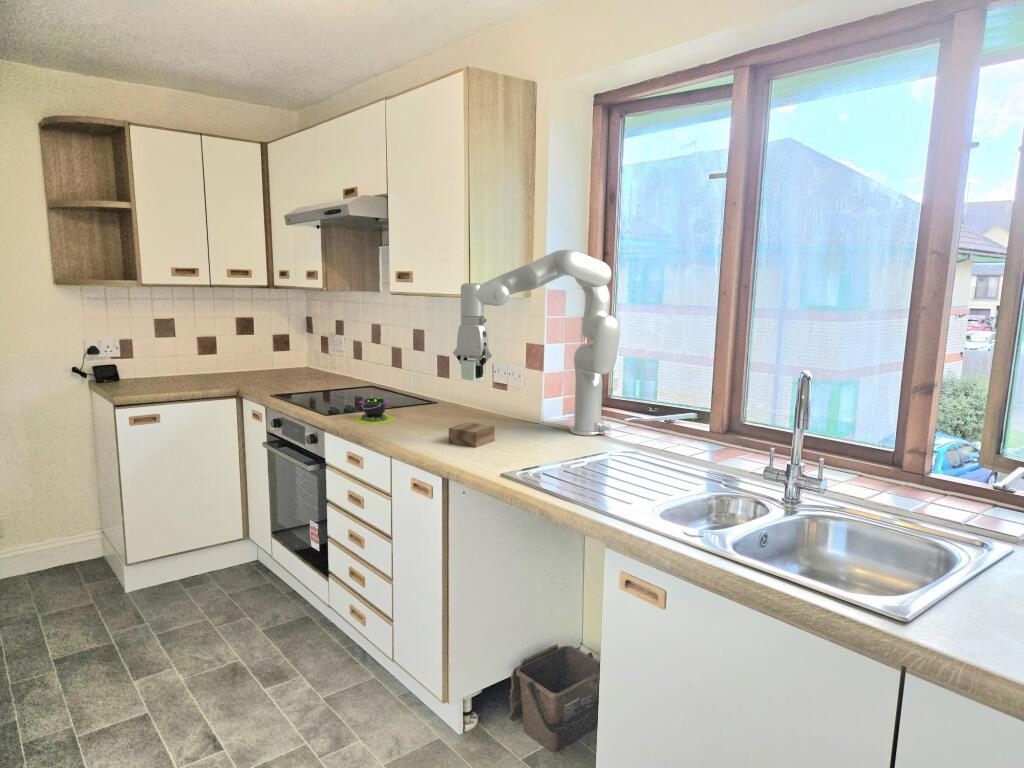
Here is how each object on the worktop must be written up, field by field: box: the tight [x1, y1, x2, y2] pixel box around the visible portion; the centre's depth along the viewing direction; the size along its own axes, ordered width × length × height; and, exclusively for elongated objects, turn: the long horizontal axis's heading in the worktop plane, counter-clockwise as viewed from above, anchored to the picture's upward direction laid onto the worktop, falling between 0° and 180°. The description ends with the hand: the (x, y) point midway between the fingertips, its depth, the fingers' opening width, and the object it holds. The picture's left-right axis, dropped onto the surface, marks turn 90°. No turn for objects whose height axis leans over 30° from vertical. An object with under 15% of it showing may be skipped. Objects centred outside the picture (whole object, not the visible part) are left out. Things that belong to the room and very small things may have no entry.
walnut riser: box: [448, 421, 496, 448], centre depth 223 cm, size 11×11×5 cm
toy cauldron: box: [354, 390, 395, 425], centre depth 255 cm, size 15×15×11 cm
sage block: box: [460, 358, 484, 381], centre depth 219 cm, size 5×5×6 cm
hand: (472, 376), depth 220 cm, fingers closed on sage block, 5 cm apart
